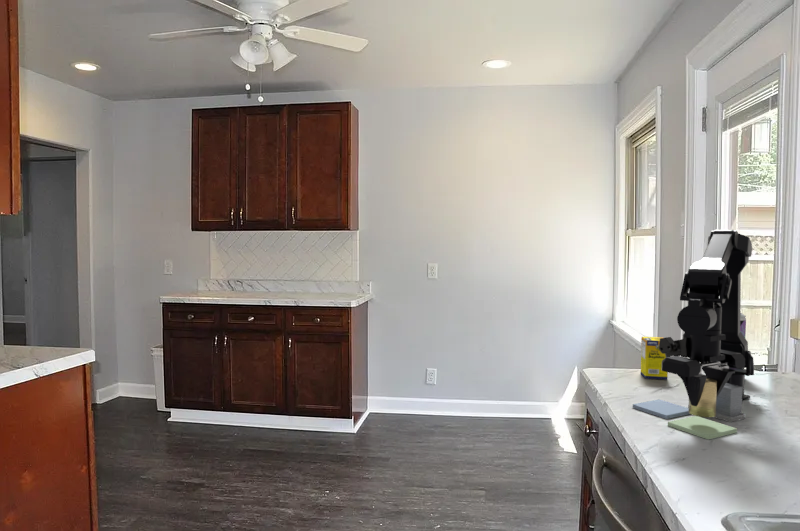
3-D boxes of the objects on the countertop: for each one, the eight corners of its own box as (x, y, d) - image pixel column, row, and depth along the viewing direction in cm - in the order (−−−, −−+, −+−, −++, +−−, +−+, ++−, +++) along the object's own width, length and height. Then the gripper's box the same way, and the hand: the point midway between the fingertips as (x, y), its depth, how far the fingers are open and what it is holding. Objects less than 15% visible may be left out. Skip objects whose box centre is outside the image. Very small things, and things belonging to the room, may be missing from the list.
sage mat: (695, 419, 121) (696, 415, 121) (737, 432, 113) (737, 428, 113) (667, 425, 117) (668, 421, 117) (708, 439, 109) (708, 435, 109)
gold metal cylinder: (698, 408, 119) (699, 375, 118) (721, 415, 114) (722, 381, 114) (682, 411, 116) (683, 378, 116) (705, 418, 112) (706, 384, 112)
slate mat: (659, 402, 134) (659, 399, 134) (693, 413, 126) (693, 409, 126) (632, 407, 130) (632, 404, 130) (666, 419, 122) (666, 415, 122)
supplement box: (668, 380, 155) (669, 340, 154) (644, 378, 156) (645, 340, 155) (662, 374, 161) (663, 337, 160) (640, 373, 162) (641, 336, 161)
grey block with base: (702, 406, 131) (703, 376, 130) (745, 418, 122) (746, 386, 122) (688, 409, 129) (688, 379, 128) (730, 422, 120) (731, 389, 119)
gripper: (698, 320, 126) (696, 388, 127) (640, 326, 117) (638, 399, 118) (748, 327, 116) (745, 401, 117) (688, 334, 107) (686, 414, 108)
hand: (702, 403), depth 115 cm, fingers closed on gold metal cylinder, 5 cm apart
